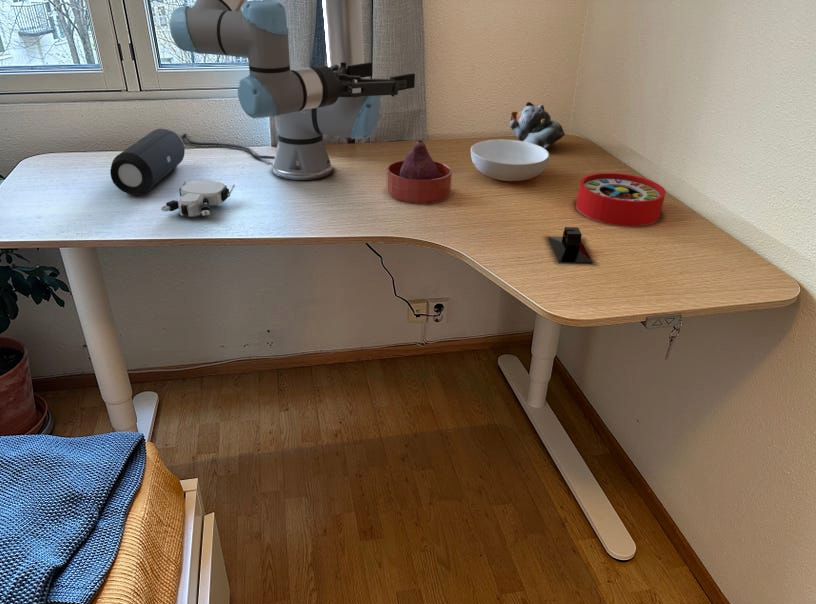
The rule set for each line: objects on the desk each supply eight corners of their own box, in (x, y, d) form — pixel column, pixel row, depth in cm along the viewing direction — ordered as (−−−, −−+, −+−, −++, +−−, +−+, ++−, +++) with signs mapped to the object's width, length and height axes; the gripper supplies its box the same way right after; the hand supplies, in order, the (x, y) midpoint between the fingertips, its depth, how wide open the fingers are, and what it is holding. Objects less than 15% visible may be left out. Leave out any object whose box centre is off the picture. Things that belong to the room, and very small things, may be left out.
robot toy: (211, 227, 145) (238, 198, 156) (208, 208, 142) (235, 180, 153) (160, 221, 146) (190, 193, 158) (155, 202, 143) (186, 175, 155)
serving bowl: (458, 181, 173) (460, 155, 169) (482, 159, 189) (484, 135, 185) (535, 194, 167) (539, 167, 163) (553, 170, 183) (557, 146, 179)
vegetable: (432, 211, 162) (441, 158, 151) (392, 201, 163) (398, 148, 151) (441, 187, 169) (450, 135, 157) (402, 178, 170) (408, 125, 158)
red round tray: (373, 190, 165) (373, 167, 161) (418, 177, 174) (419, 155, 171) (417, 209, 156) (419, 185, 152) (463, 194, 165) (465, 171, 162)
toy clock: (678, 186, 158) (644, 208, 145) (672, 210, 162) (638, 233, 149) (603, 167, 169) (565, 186, 156) (598, 189, 172) (561, 209, 159)
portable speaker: (152, 199, 155) (144, 157, 149) (111, 196, 155) (101, 154, 149) (190, 165, 176) (184, 127, 170) (154, 163, 176) (147, 124, 170)
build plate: (547, 238, 145) (551, 218, 142) (580, 239, 145) (584, 219, 142) (558, 262, 135) (562, 241, 132) (593, 264, 135) (598, 243, 132)
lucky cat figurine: (534, 155, 194) (518, 109, 189) (513, 160, 205) (496, 117, 200) (573, 135, 198) (557, 89, 193) (549, 140, 209) (534, 97, 204)
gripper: (278, 95, 140) (355, 82, 152) (354, 121, 125) (431, 104, 138) (275, 57, 135) (354, 47, 148) (353, 79, 121) (433, 66, 134)
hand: (391, 74), depth 143 cm, fingers open, 13 cm apart
